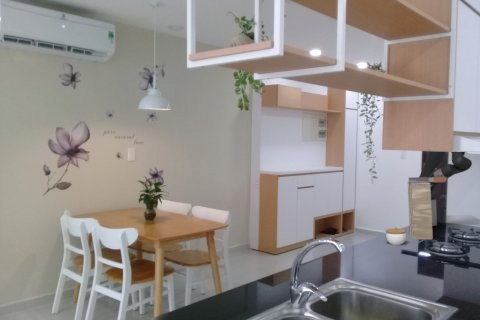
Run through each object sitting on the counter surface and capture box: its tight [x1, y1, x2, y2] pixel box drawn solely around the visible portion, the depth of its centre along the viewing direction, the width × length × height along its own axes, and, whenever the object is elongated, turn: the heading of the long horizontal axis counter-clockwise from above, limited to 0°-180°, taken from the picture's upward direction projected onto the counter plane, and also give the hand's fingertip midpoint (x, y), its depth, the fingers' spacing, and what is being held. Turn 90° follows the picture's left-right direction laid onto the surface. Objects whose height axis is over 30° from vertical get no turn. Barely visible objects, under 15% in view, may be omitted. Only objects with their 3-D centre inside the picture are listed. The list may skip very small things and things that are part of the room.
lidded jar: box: [385, 226, 407, 246], centre depth 234 cm, size 11×11×9 cm
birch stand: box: [407, 176, 434, 240], centre depth 250 cm, size 15×10×35 cm, turn 166°
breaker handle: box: [429, 177, 447, 183], centre depth 248 cm, size 4×18×3 cm, turn 76°
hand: (418, 189), depth 267 cm, fingers open, 7 cm apart
